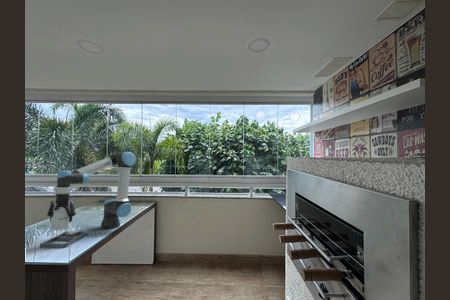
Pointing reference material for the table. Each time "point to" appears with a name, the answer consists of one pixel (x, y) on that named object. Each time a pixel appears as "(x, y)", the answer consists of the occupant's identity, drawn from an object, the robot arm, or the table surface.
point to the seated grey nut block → (71, 234)
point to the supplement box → (60, 220)
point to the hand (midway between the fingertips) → (60, 226)
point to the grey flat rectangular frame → (61, 238)
